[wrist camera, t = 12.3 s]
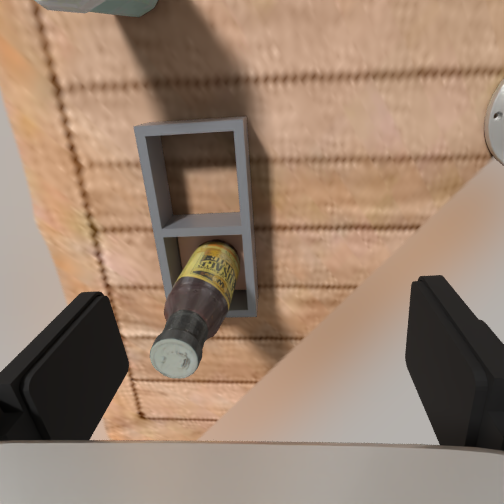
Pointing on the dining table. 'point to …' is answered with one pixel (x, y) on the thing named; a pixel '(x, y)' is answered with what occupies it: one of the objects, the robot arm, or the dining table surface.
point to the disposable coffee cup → (101, 6)
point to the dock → (200, 225)
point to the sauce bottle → (196, 308)
